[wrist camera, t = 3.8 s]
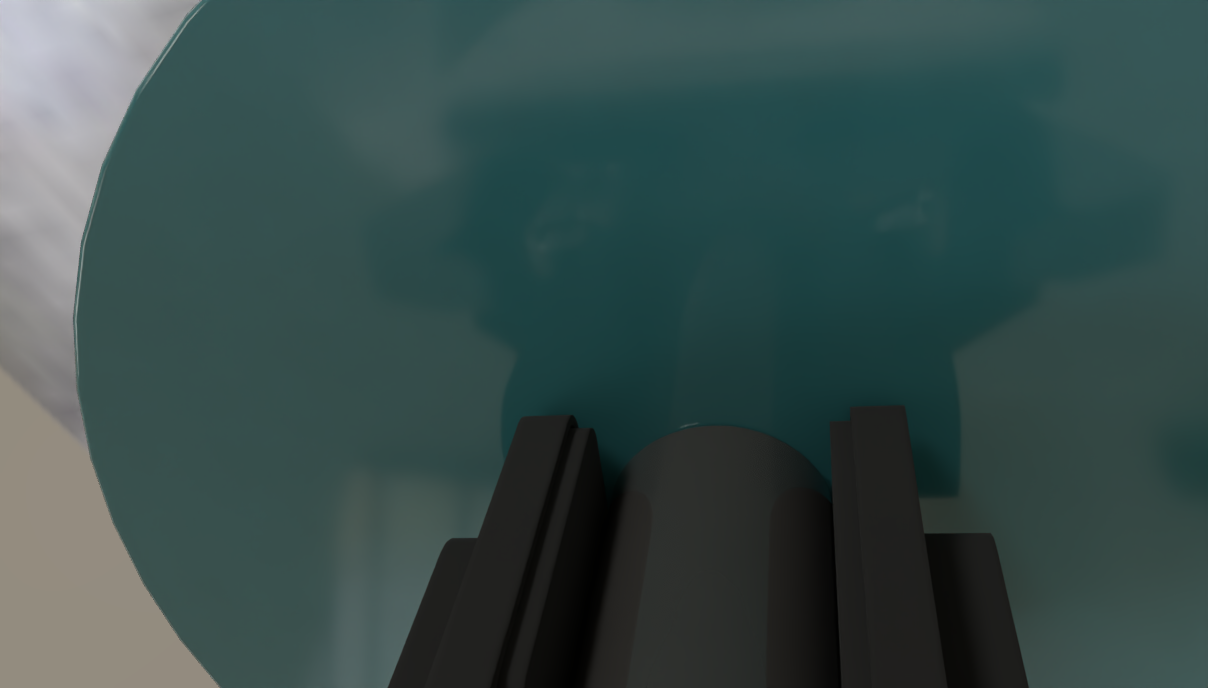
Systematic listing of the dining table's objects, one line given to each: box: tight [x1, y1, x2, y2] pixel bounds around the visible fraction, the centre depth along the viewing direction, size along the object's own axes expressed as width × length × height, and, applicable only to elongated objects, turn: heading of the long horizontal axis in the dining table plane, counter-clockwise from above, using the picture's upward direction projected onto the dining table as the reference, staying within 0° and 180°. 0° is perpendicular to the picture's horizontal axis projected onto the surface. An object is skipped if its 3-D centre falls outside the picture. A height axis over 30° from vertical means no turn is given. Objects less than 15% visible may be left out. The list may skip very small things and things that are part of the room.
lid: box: [73, 0, 1208, 688], centre depth 11 cm, size 14×14×7 cm
